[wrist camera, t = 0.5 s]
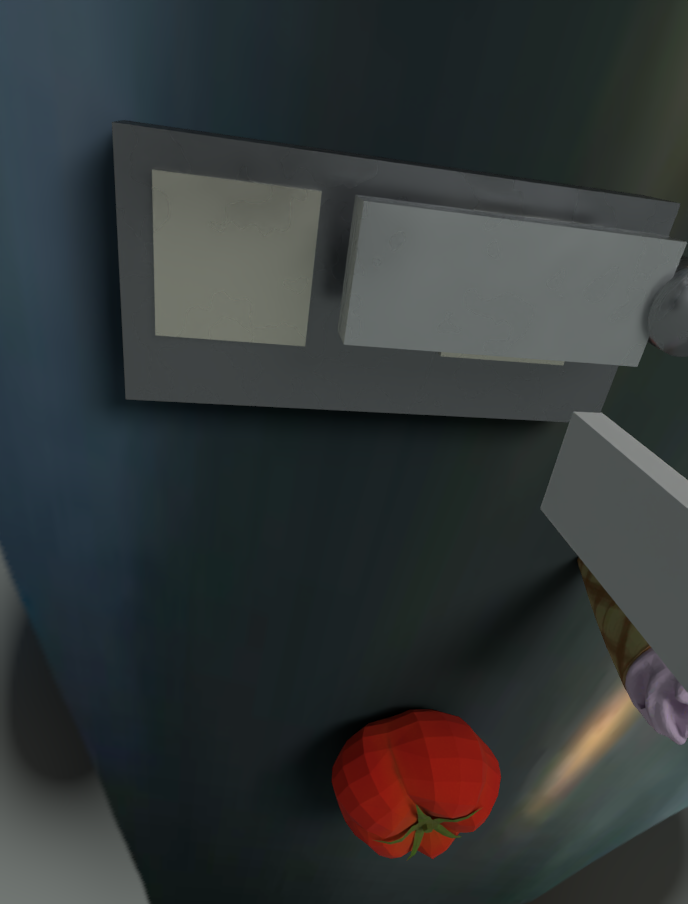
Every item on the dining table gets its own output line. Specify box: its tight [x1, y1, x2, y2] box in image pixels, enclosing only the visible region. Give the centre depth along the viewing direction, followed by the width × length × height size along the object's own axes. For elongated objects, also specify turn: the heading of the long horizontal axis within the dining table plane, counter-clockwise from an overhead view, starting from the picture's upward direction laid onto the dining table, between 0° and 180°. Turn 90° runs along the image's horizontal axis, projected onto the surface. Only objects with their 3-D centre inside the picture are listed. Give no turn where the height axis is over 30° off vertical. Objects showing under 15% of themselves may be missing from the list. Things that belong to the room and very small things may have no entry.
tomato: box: [332, 709, 501, 860], centre depth 48 cm, size 14×13×9 cm
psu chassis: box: [112, 120, 680, 422], centre depth 29 cm, size 12×26×5 cm, turn 82°
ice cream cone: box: [577, 558, 688, 745], centre depth 38 cm, size 7×6×15 cm
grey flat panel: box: [337, 195, 688, 367], centre depth 26 cm, size 6×18×2 cm, turn 82°
